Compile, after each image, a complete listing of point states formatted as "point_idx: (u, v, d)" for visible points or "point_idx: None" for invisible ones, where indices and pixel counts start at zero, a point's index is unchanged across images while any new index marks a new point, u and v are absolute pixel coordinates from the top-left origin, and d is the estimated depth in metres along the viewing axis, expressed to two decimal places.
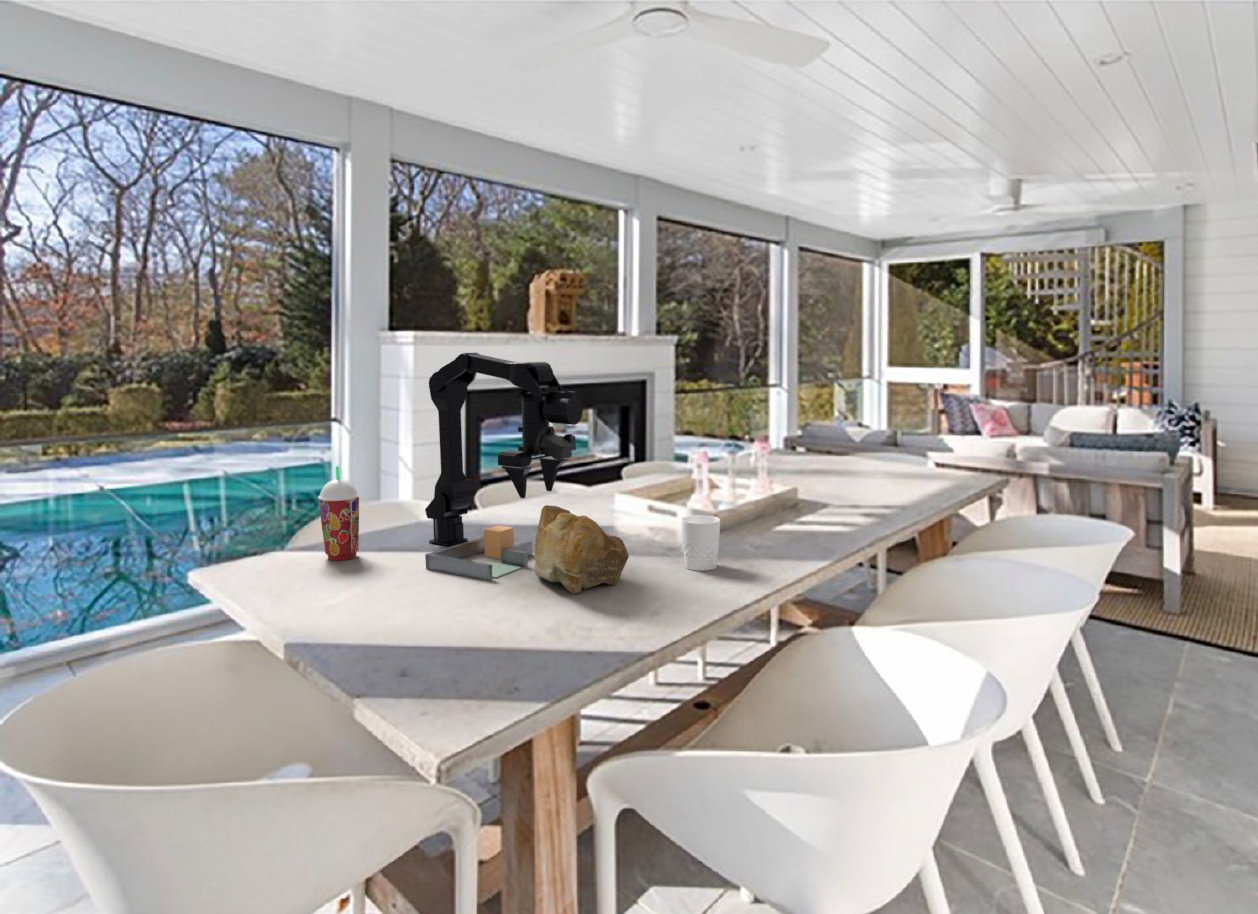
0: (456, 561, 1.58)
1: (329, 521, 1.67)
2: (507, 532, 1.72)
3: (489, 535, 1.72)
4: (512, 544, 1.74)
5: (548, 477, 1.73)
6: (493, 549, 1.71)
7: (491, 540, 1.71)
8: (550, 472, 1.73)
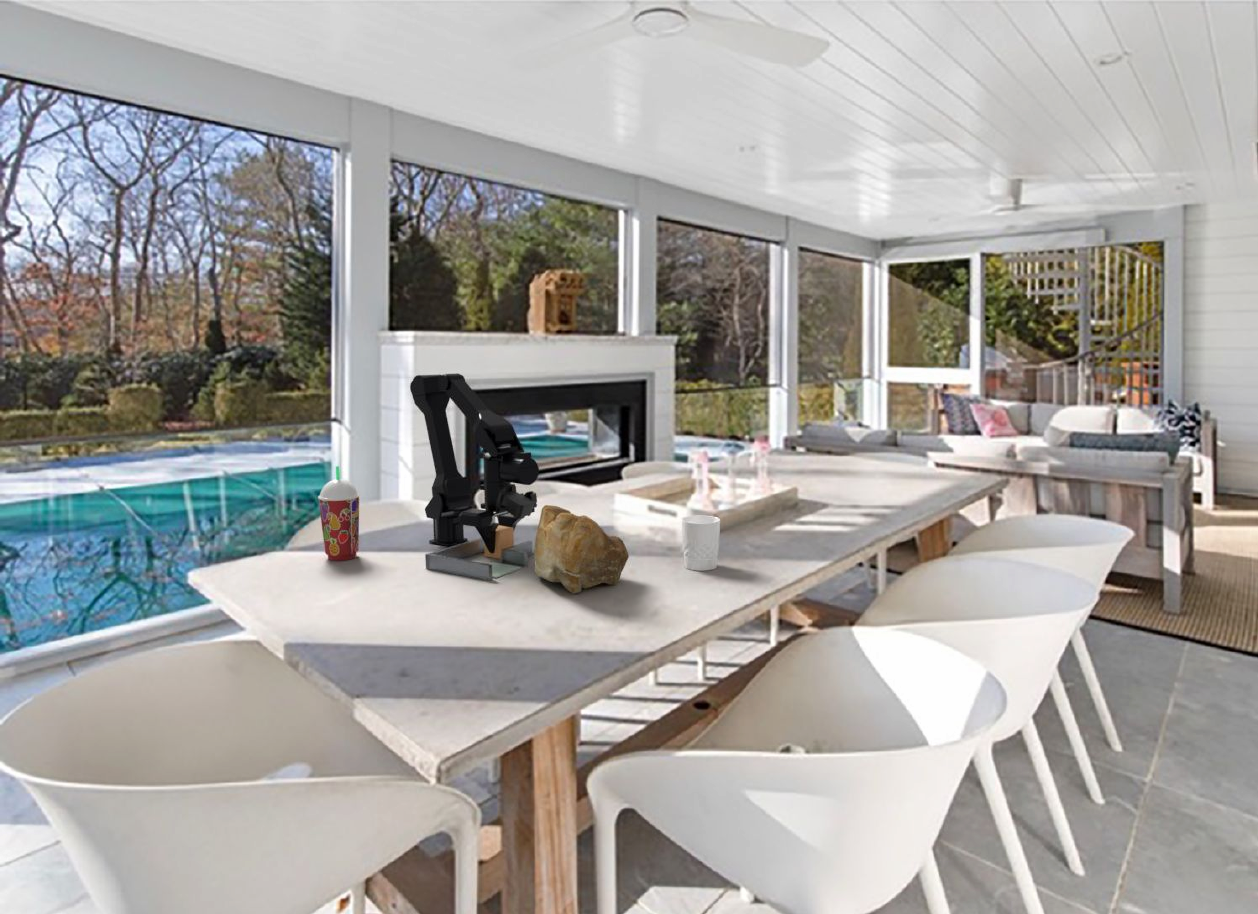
0: (456, 561, 1.58)
1: (329, 521, 1.67)
2: (507, 532, 1.72)
3: None
4: (512, 544, 1.74)
5: None
6: None
7: None
8: None
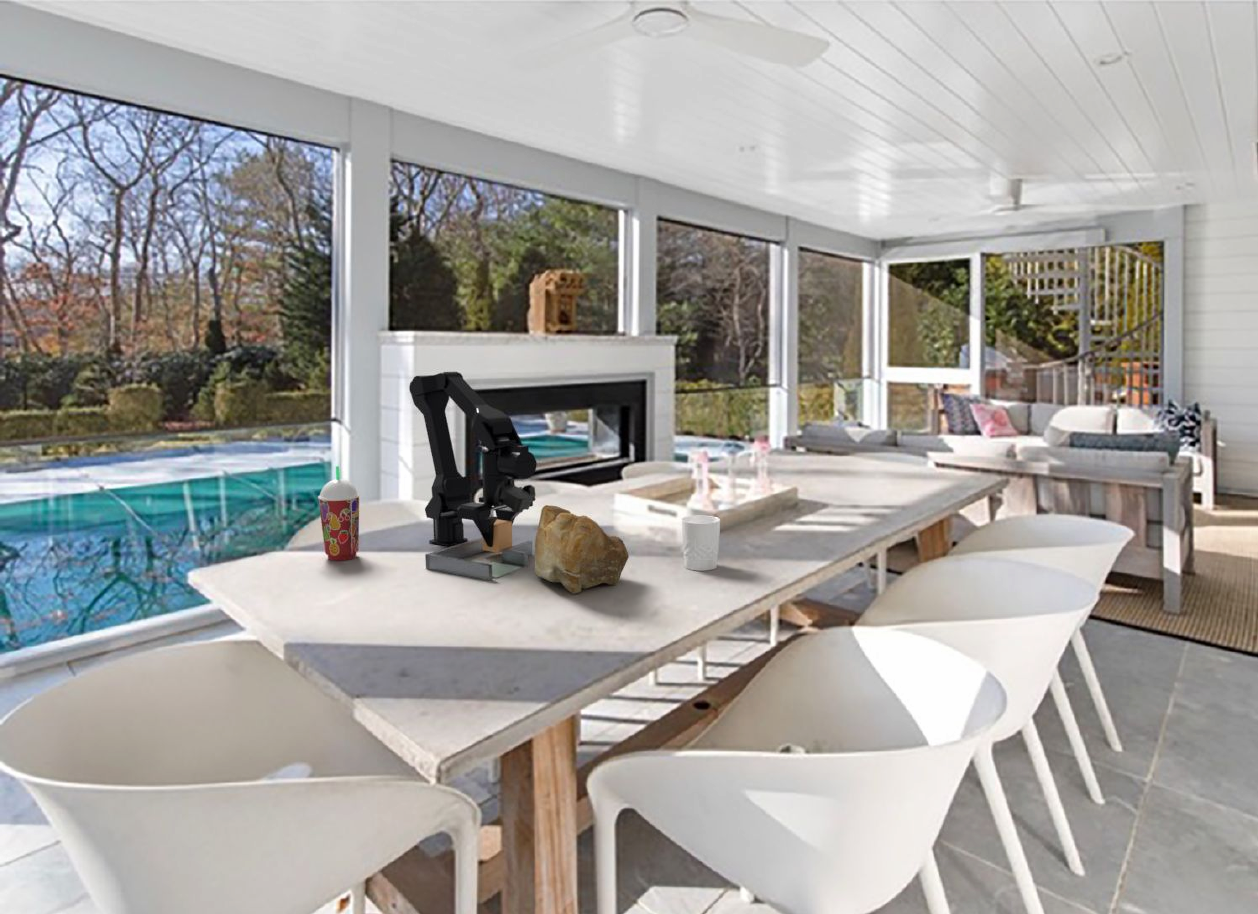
0: (456, 561, 1.58)
1: (329, 521, 1.67)
2: (506, 525, 1.71)
3: None
4: (510, 538, 1.73)
5: None
6: None
7: None
8: None
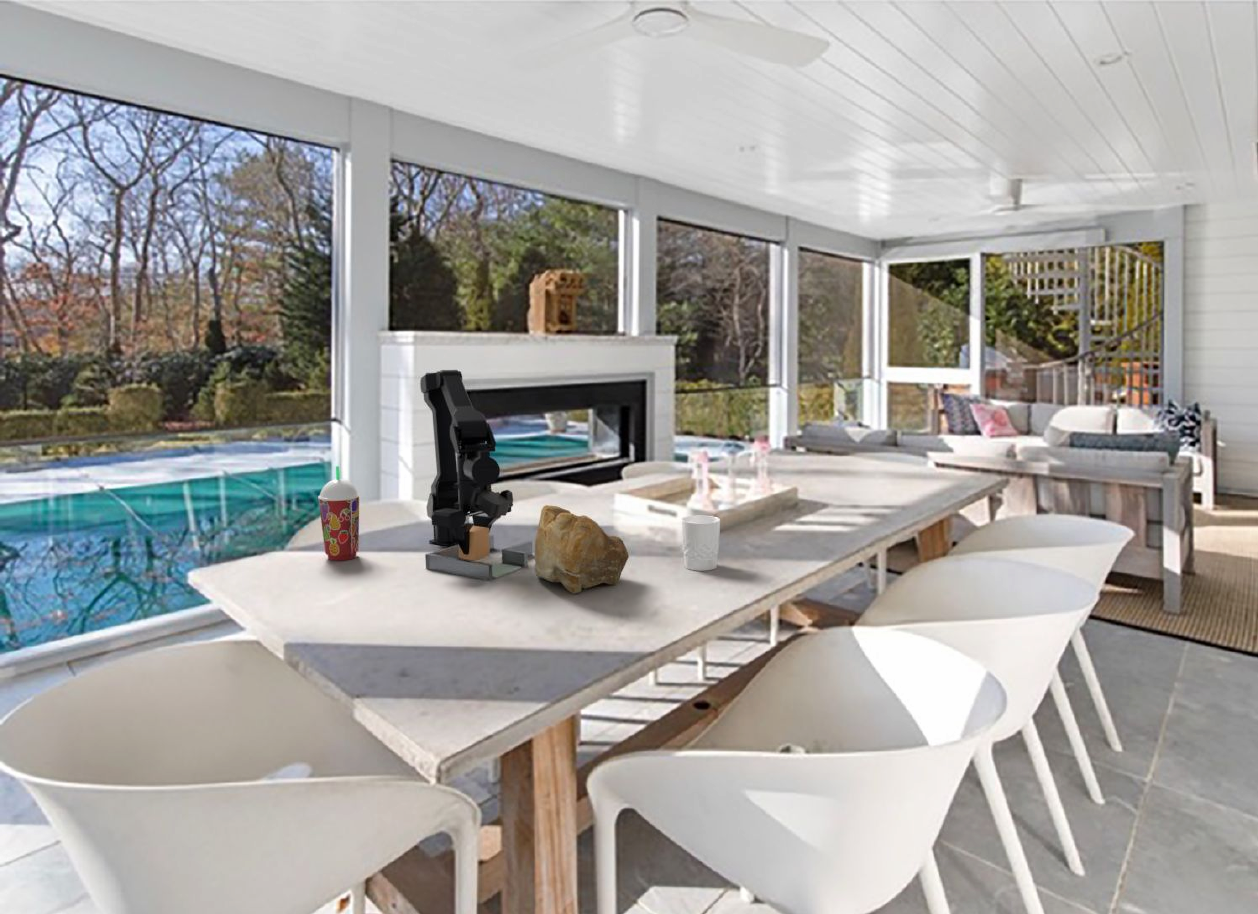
0: (456, 561, 1.58)
1: (329, 521, 1.67)
2: (482, 532, 1.65)
3: None
4: (488, 545, 1.67)
5: None
6: None
7: None
8: None
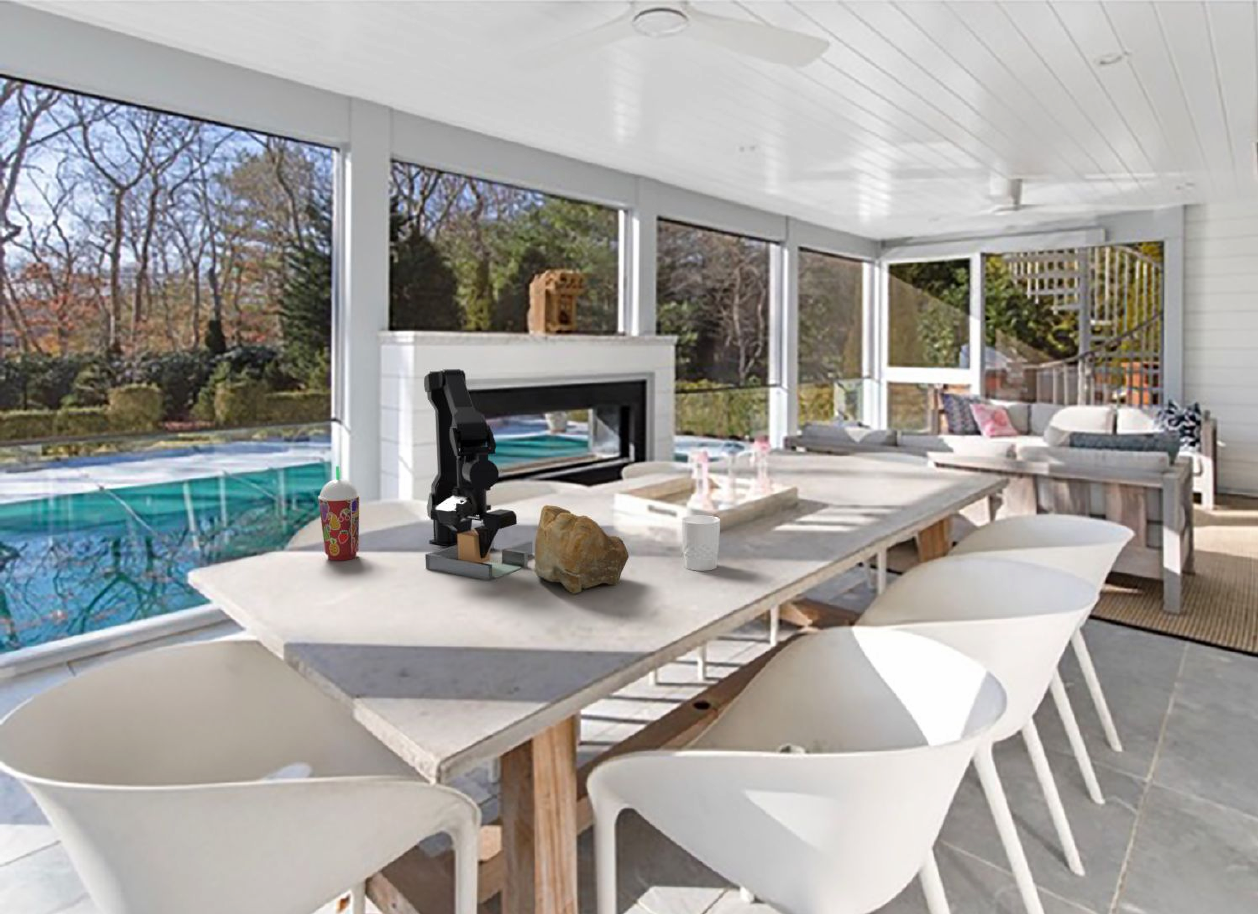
0: (456, 561, 1.58)
1: (329, 521, 1.67)
2: (466, 538, 1.60)
3: None
4: (473, 553, 1.60)
5: None
6: None
7: None
8: None
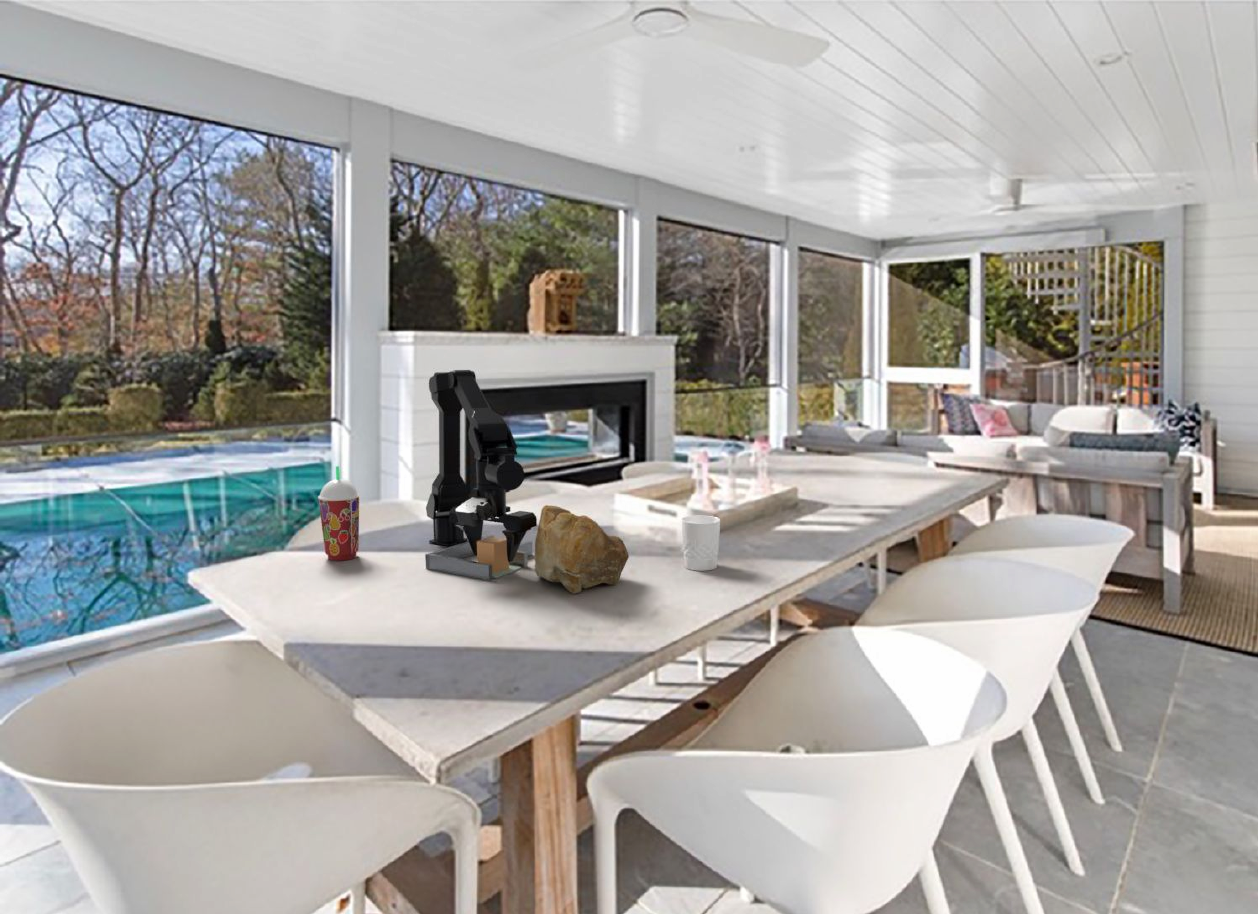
0: (456, 561, 1.58)
1: (329, 521, 1.67)
2: (486, 545, 1.59)
3: None
4: (492, 561, 1.58)
5: None
6: None
7: None
8: None
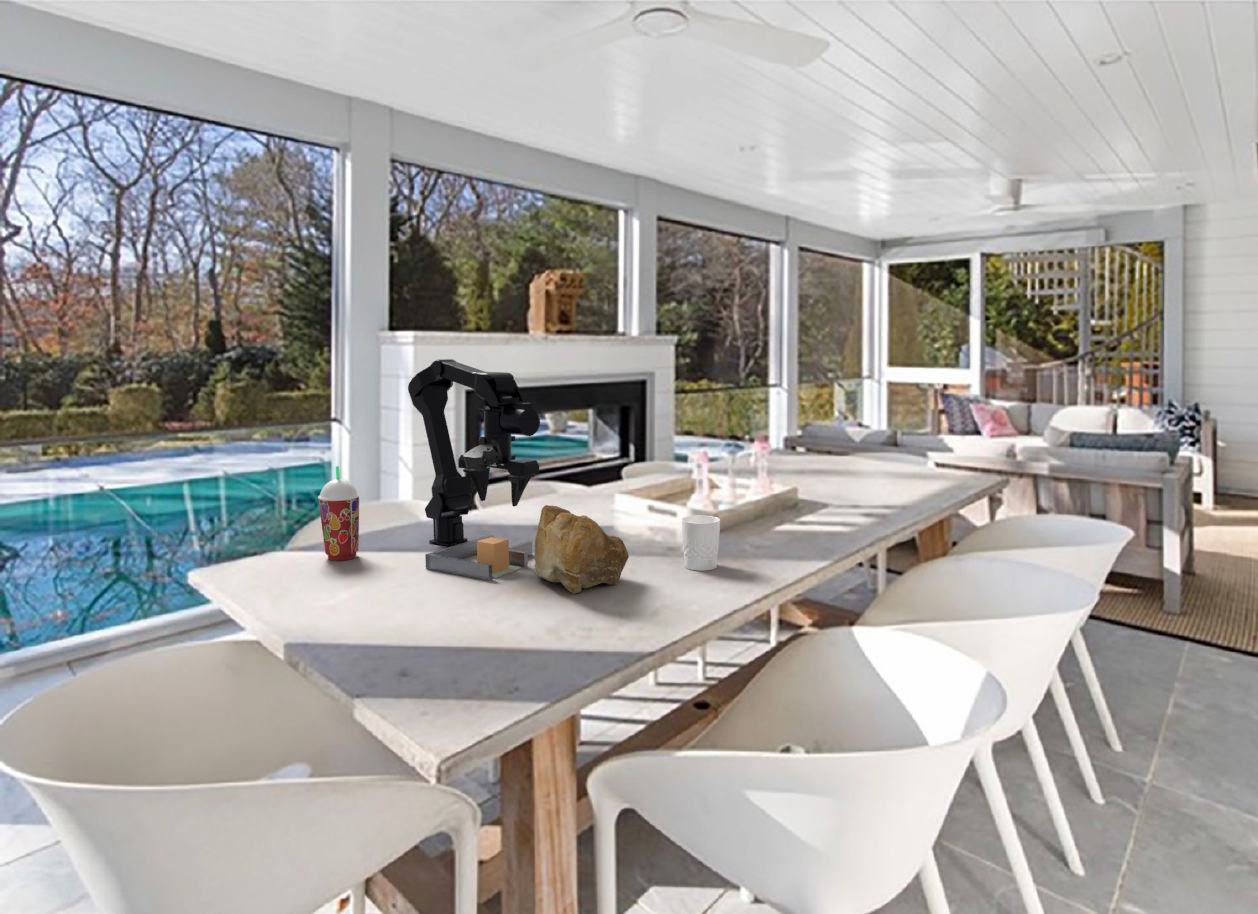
0: (456, 561, 1.58)
1: (329, 521, 1.67)
2: (486, 545, 1.59)
3: None
4: (492, 561, 1.58)
5: None
6: None
7: None
8: None
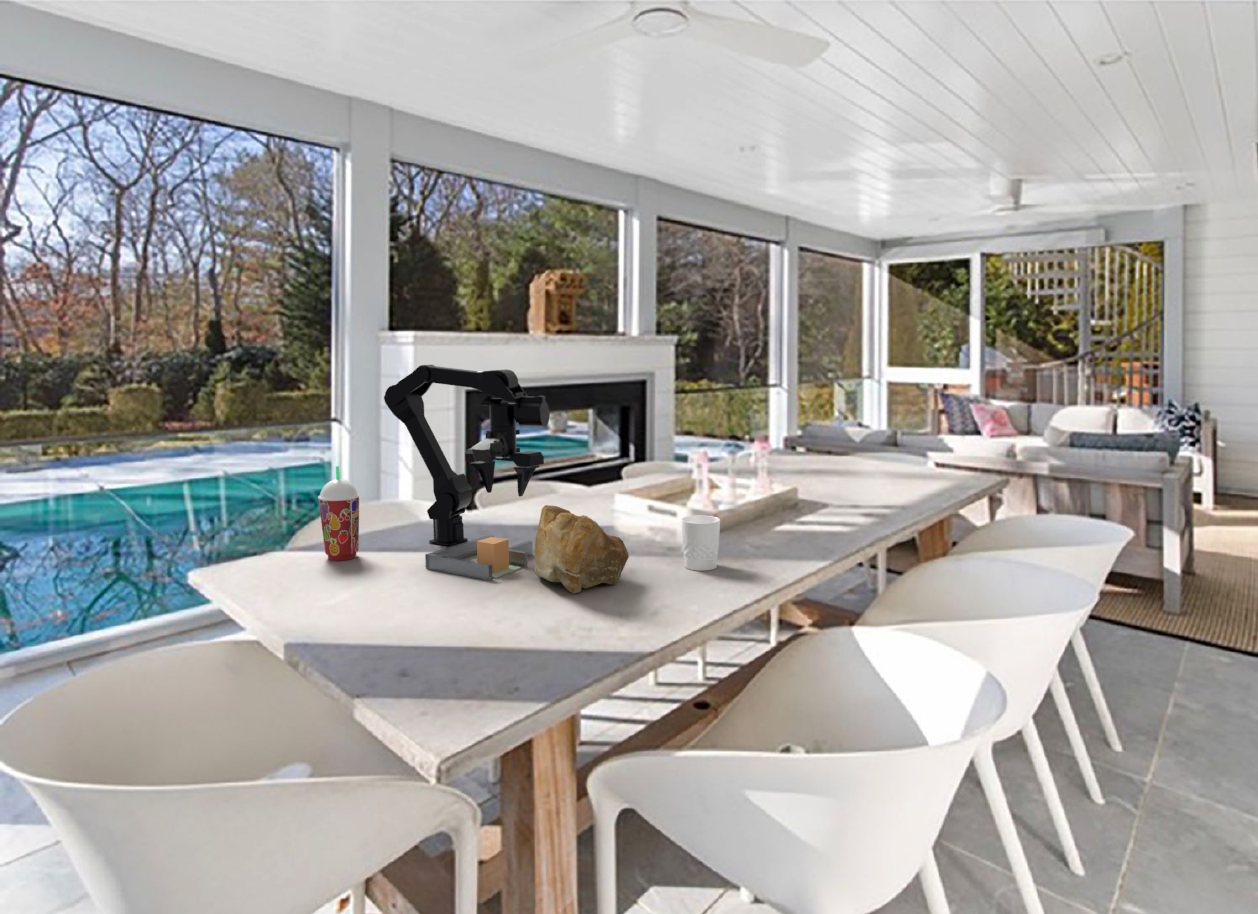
0: (456, 561, 1.58)
1: (329, 521, 1.67)
2: (486, 545, 1.59)
3: None
4: (492, 561, 1.58)
5: None
6: None
7: None
8: None
